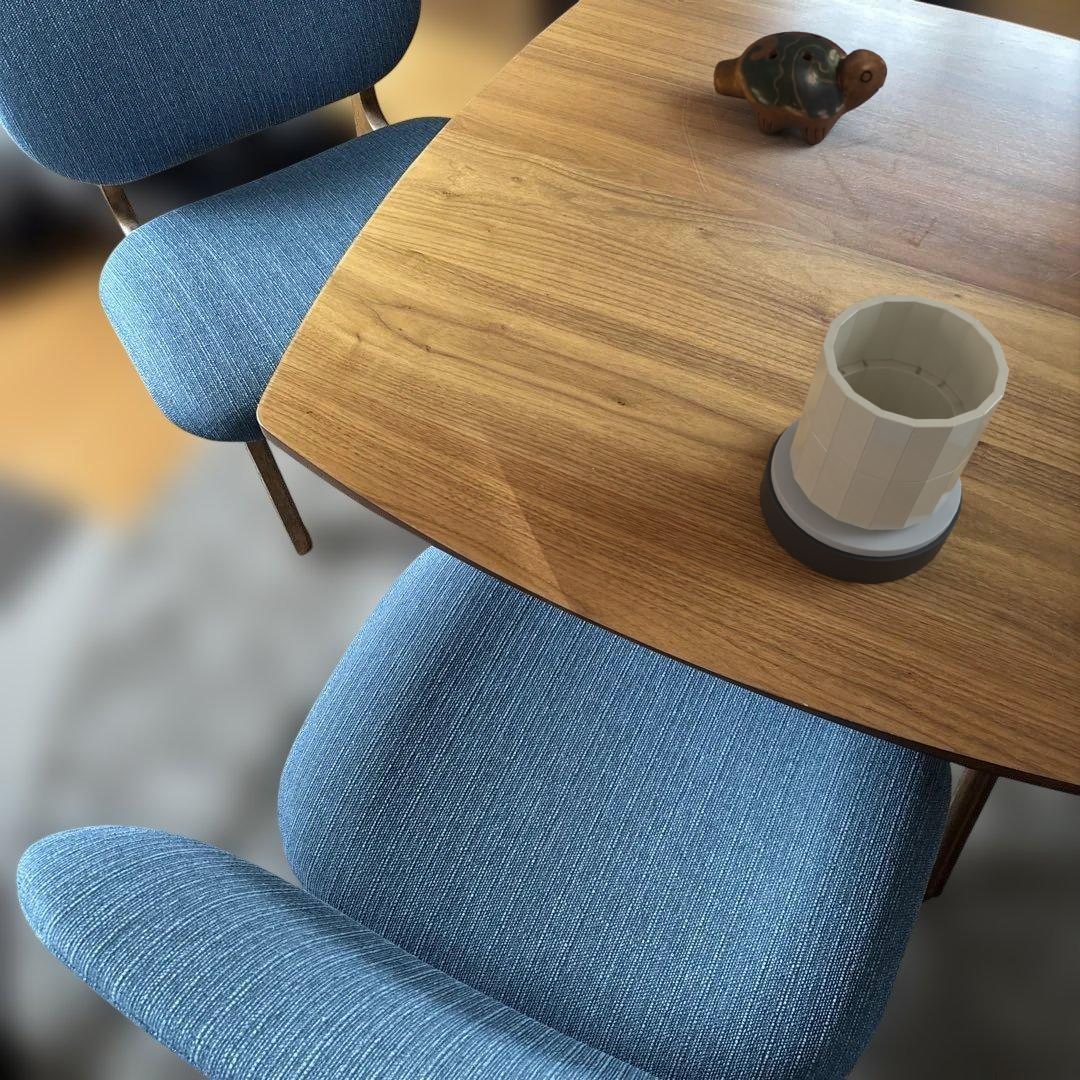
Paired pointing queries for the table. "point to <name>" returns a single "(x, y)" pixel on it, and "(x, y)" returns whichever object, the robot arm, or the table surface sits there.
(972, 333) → the faceted beige cup
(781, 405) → the table surface
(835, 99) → the decorative turtle
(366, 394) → the table surface
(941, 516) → the scale
